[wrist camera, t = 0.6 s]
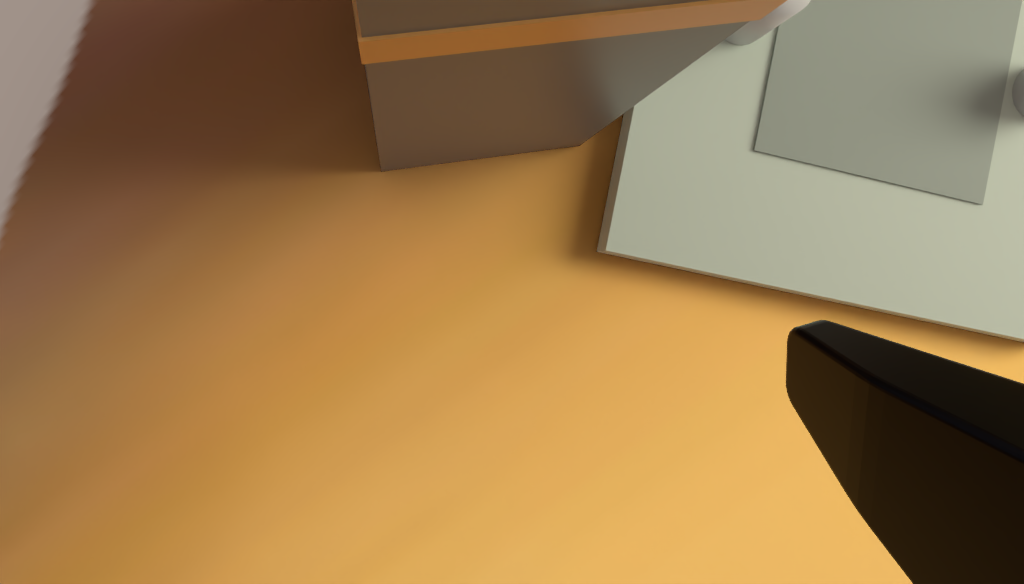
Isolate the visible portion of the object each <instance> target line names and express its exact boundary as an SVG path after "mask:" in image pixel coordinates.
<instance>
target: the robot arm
mask: <svg viewBox="0 0 1024 584" xmlns="http://www.w3.org/2000/svg"><path fill="white" fill-rule="evenodd" d="M786 388H787V393H788V396H789V399H790V401H791V403H792V405H793V407H794V409H795V410H796V412H797V413H798V415H799V417H800V418H801V420H802V422H803V423H804V425H805V427H806V428H807V430H808V432H809V433H810V435H811V436H812V438H813V440H814V441H815V443H816V445H817V446H818V448H819V450H820V451H821V453H822V455H823V456H824V458H825V459H826V461H827V463H828V464H829V466H830V468H831V469H832V471H833V473H834V474H835V476H836V478H837V479H838V481H839V482H840V484H841V486H842V487H843V489H844V491H845V492H846V494H847V495H848V497H849V498H850V500H851V502H852V503H853V505H854V506H855V508H856V509H857V511H858V512H859V513H860V515H861V516H862V517H863V519H864V520H865V522H866V523H867V524H868V526H869V527H870V528H871V530H872V531H873V532H874V533H875V535H876V536H877V537H878V539H879V540H880V541H881V543H882V544H883V545H884V546H885V548H886V549H887V550H888V552H889V553H890V554H891V556H892V557H893V558H894V559H895V561H896V562H897V563H898V565H899V566H900V567H901V569H902V570H903V571H904V572H905V574H906V575H907V576H908V578H909V579H910V580H911V582H912V583H913V584H1024V384H1023V383H1020V382H1017V381H1013V380H1010V379H1007V378H1004V377H1001V376H998V375H995V374H992V373H989V372H985V371H982V370H979V369H976V368H973V367H970V366H967V365H964V364H961V363H958V362H954V361H951V360H948V359H945V358H942V357H939V356H936V355H933V354H930V353H926V352H923V351H920V350H917V349H914V348H911V347H908V346H905V345H902V344H899V343H895V342H892V341H889V340H886V339H883V338H880V337H877V336H874V335H871V334H868V333H864V332H861V331H858V330H855V329H852V328H849V327H846V326H843V325H840V324H836V323H833V322H830V321H826V320H820V321H816V322H812V323H809V324H805V325H802V326H798V327H795V328H794V329H792V330H791V331H790V333H789V335H788V340H787V364H786Z"/></svg>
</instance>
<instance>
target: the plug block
mask: <svg viewBox="0 0 1024 584" xmlns="http://www.w3.org/2000/svg"><path fill="white" fill-rule="evenodd" d="M786 1H787V0H352V6H353V12H354V18H355V25H356V31H357V38H358V44H359V50H360V56H361V63H362V64H365V71H366V77H367V84H368V90H369V96H370V103H371V109H372V116H373V122H374V129H375V135H376V142H377V148H378V154H379V161H380V167H381V172H382V171H389V170H397V169H405V168H412V167H420V166H428V165H435V164H443V163H451V162H458V161H466V160H473V159H481V158H489V157H496V156H504V155H512V154H519V153H527V152H535V151H542V150H550V149H558V148H565V147H573V146H580V145H581V144H583V143H584V142H585V141H587V140H588V139H589V138H591V137H592V136H593V135H595V134H596V133H598V132H599V131H600V130H602V129H603V128H604V127H606V126H607V125H609V124H610V123H611V122H613V121H614V120H615V119H617V118H618V117H620V116H621V115H622V114H624V113H625V112H626V111H628V110H629V109H630V108H632V107H633V106H635V105H636V104H637V103H639V102H640V101H641V100H643V99H644V98H646V97H647V96H648V95H650V94H651V93H652V92H654V91H655V90H656V89H658V88H659V87H661V86H662V85H663V84H665V83H666V82H667V81H669V80H670V79H672V78H673V77H674V76H676V75H677V74H678V73H680V72H681V71H682V70H684V69H685V68H687V67H688V66H689V65H691V64H692V63H693V62H695V61H696V60H698V59H699V58H700V57H702V56H703V55H704V54H706V53H707V52H708V51H710V50H711V49H713V48H714V47H715V46H717V45H718V44H719V43H721V42H722V41H724V40H725V39H726V38H728V37H729V36H730V35H732V34H733V33H734V32H736V31H737V30H739V29H740V28H741V27H743V26H744V25H745V24H747V23H748V22H750V21H755V20H760V19H762V18H763V17H765V16H766V15H767V14H769V13H770V12H772V11H773V10H774V9H776V8H777V7H779V6H780V5H781V4H783V3H784V2H786Z"/></svg>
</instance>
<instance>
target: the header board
mask: <svg viewBox="0 0 1024 584" xmlns="http://www.w3.org/2000/svg"><path fill="white" fill-rule="evenodd" d="M597 252H600V253H605V254H610V255H614V256H619V257H624V258H629V259H633V260H638V261H643V262H648V263H652V264H657V265H662V266H666V267H671V268H676V269H681V270H685V271H690V272H695V273H699V274H704V275H709V276H714V277H718V278H723V279H728V280H732V281H737V282H742V283H747V284H751V285H756V286H761V287H765V288H770V289H775V290H780V291H784V292H789V293H794V294H798V295H803V296H808V297H813V298H817V299H822V300H827V301H831V302H836V303H841V304H846V305H850V306H855V307H860V308H864V309H869V310H874V311H879V312H883V313H888V314H893V315H897V316H902V317H907V318H912V319H916V320H921V321H926V322H931V323H935V324H940V325H945V326H949V327H954V328H959V329H964V330H968V331H973V332H978V333H982V334H987V335H992V336H997V337H1001V338H1006V339H1011V340H1015V341H1020V342H1024V0H787V1H786V2H784V3H783V4H781V5H780V6H779V7H777V8H776V9H774V10H773V11H772V12H770V13H769V14H767V15H766V16H765V17H763V18H762V19H760V20H755V21H750V22H748V23H747V24H745V25H744V26H743V27H741V28H740V29H739V30H737V31H736V32H734V33H733V34H732V35H730V36H729V37H728V38H726V39H725V40H724V41H722V42H721V43H719V44H718V45H717V46H715V47H714V48H713V49H711V50H710V51H708V52H707V53H706V54H704V55H703V56H702V57H700V58H699V59H698V60H696V61H695V62H693V63H692V64H691V65H689V66H688V67H687V68H685V69H684V70H682V71H681V72H680V73H678V74H677V75H676V76H674V77H673V78H672V79H670V80H669V81H667V82H666V83H665V84H663V85H662V86H661V87H659V88H658V89H656V90H655V91H654V92H652V93H651V94H650V95H648V96H647V97H646V98H644V99H643V100H641V101H640V102H639V103H637V104H636V105H635V106H633V107H632V108H630V109H629V110H628V111H626V112H625V113H624V115H623V120H622V125H621V131H620V136H619V141H618V146H617V151H616V156H615V161H614V166H613V171H612V176H611V181H610V186H609V191H608V196H607V201H606V206H605V211H604V216H603V221H602V226H601V231H600V236H599V242H598V247H597Z"/></svg>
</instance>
